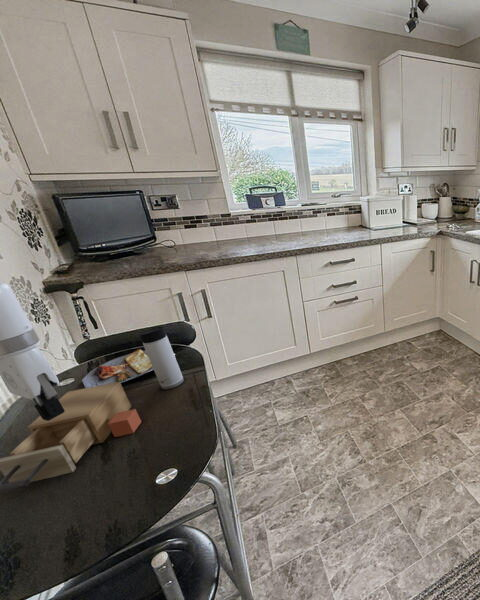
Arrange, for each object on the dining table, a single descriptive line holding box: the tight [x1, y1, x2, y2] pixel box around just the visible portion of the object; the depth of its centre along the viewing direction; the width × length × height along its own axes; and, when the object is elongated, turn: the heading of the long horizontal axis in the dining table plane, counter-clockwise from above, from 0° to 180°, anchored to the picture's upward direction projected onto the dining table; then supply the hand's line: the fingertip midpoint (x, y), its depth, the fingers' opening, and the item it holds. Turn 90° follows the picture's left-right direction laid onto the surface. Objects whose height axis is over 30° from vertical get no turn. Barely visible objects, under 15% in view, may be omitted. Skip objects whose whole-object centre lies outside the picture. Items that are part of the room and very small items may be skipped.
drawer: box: [0, 418, 97, 493], centre depth 74 cm, size 20×11×7 cm, turn 15°
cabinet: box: [27, 382, 132, 446], centre depth 87 cm, size 15×13×9 cm
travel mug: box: [139, 326, 185, 390], centre depth 102 cm, size 6×7×20 cm
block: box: [108, 408, 142, 438], centre depth 86 cm, size 4×4×4 cm
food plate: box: [81, 348, 154, 389], centre depth 115 cm, size 25×23×4 cm
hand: (54, 415), depth 72 cm, fingers closed
